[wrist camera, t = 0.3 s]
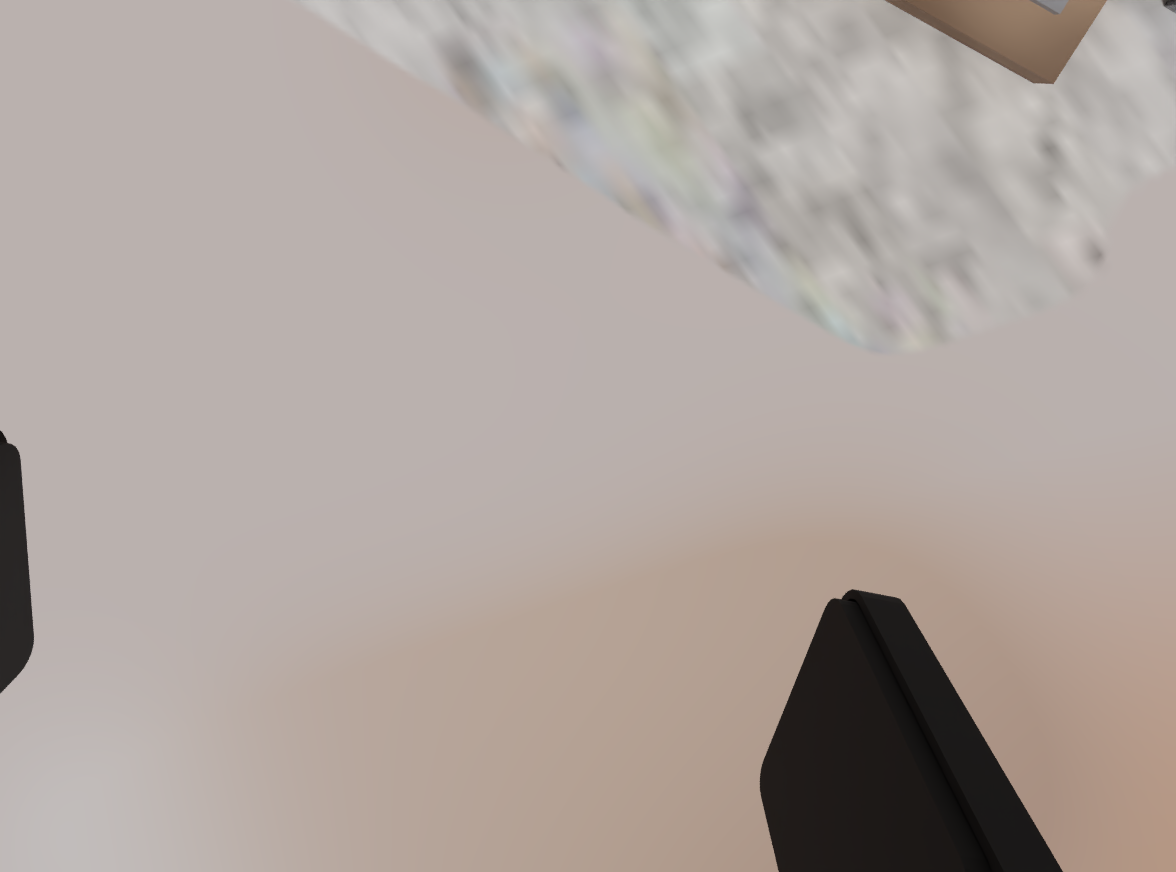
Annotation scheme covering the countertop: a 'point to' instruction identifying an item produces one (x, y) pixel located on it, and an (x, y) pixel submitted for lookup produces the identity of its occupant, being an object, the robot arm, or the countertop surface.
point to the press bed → (1013, 30)
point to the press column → (1171, 5)
